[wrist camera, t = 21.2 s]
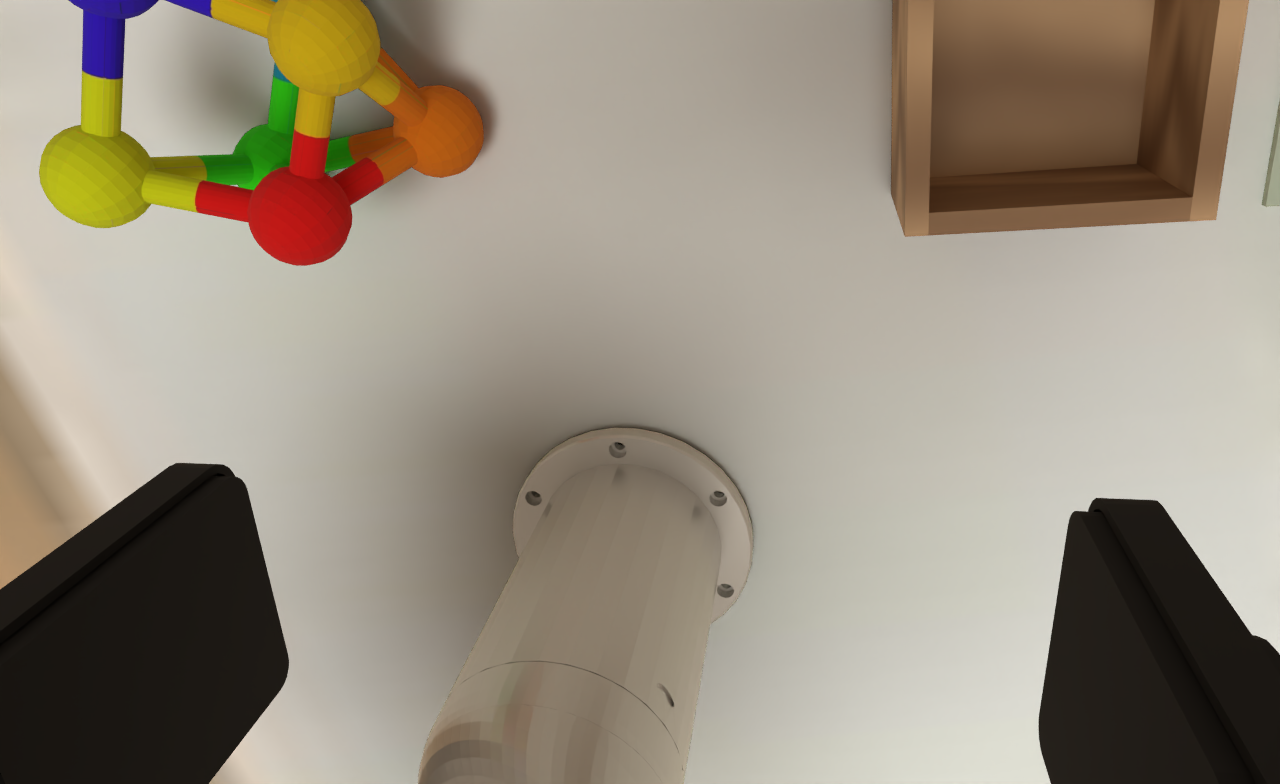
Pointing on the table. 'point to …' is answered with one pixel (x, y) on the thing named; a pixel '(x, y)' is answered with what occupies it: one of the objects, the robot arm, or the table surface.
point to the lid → (1273, 169)
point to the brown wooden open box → (1060, 112)
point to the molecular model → (262, 131)
